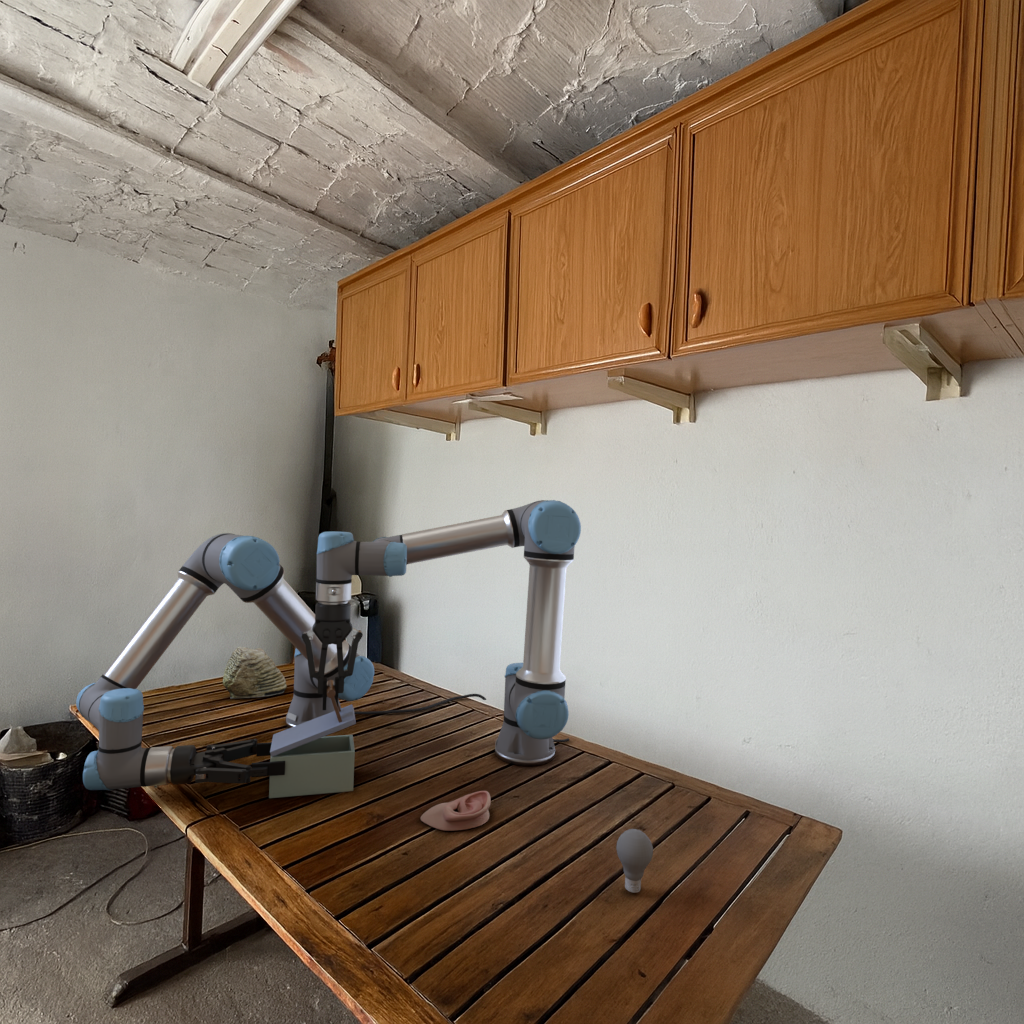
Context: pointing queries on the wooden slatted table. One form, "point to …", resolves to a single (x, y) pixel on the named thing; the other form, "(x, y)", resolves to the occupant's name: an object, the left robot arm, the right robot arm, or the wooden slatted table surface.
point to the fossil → (252, 674)
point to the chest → (316, 768)
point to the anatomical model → (459, 812)
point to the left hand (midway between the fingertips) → (286, 757)
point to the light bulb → (634, 857)
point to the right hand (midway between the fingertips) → (330, 707)
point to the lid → (314, 726)
